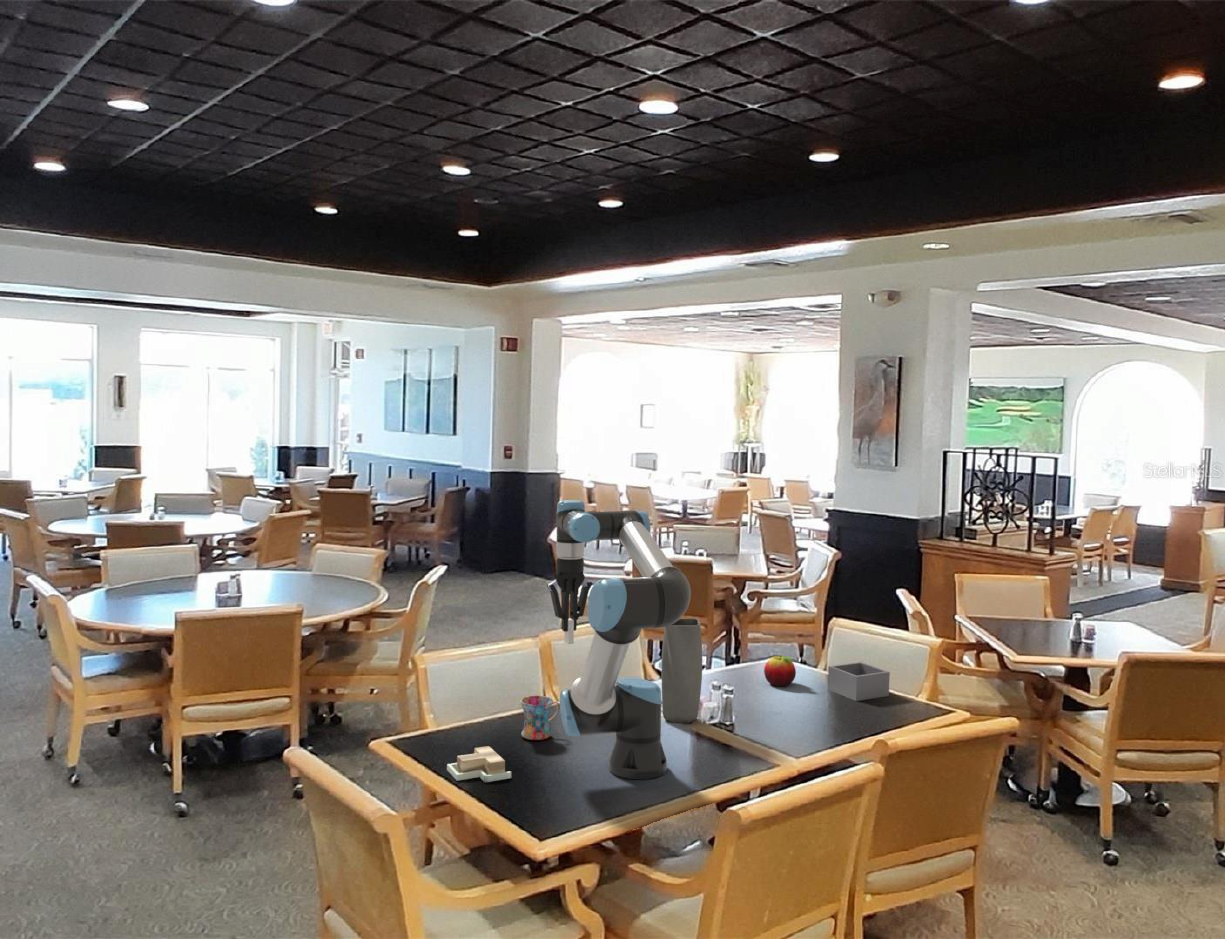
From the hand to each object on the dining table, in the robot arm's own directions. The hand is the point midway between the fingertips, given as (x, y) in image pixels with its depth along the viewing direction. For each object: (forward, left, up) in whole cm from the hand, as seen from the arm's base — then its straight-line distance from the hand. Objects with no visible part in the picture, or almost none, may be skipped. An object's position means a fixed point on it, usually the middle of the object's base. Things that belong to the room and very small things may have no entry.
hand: (568, 642), depth 269 cm
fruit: (+27, -92, -30) cm, 100 cm away
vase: (+8, -41, -30) cm, 51 cm away
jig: (-6, +29, -29) cm, 41 cm away
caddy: (+8, -110, -29) cm, 114 cm away
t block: (-6, +28, -29) cm, 41 cm away
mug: (+12, +3, -30) cm, 32 cm away
